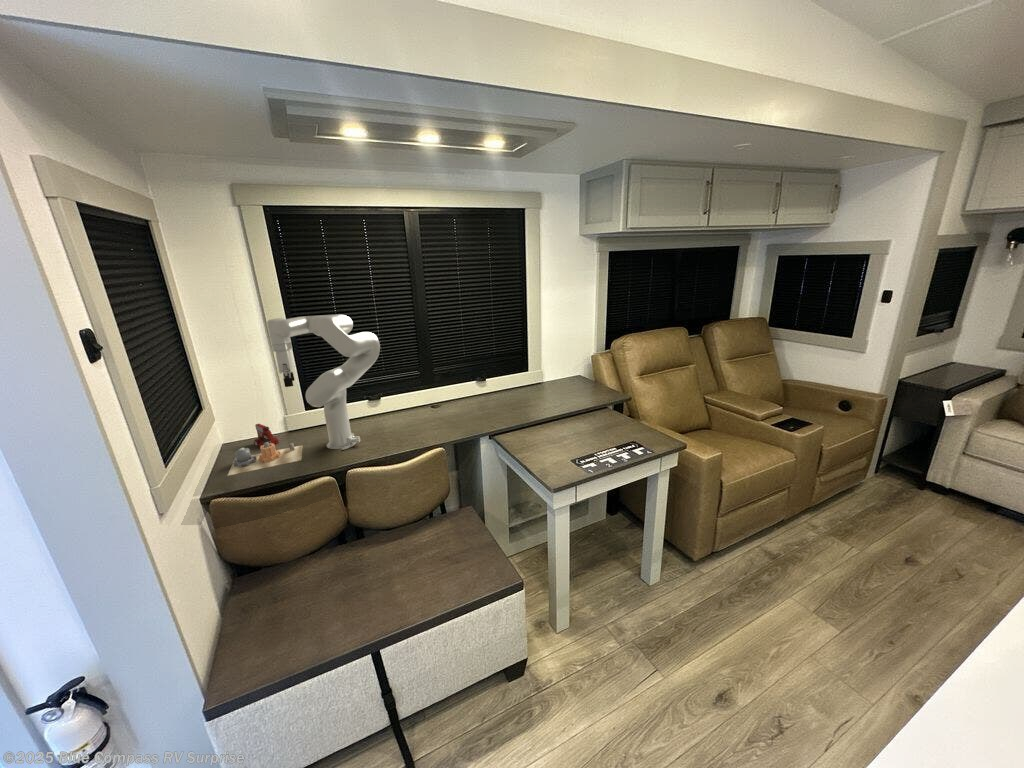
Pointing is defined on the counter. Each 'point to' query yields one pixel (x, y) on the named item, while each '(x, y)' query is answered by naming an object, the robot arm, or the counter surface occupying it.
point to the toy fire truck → (264, 436)
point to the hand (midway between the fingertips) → (290, 383)
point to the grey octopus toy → (244, 458)
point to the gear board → (285, 457)
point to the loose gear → (269, 453)
